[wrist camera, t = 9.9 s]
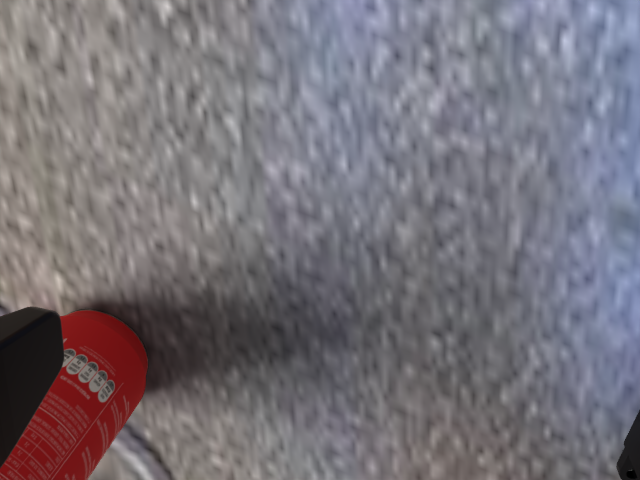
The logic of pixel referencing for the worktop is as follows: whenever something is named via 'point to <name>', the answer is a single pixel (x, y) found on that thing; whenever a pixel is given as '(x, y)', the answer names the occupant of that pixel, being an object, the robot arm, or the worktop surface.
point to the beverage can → (82, 400)
